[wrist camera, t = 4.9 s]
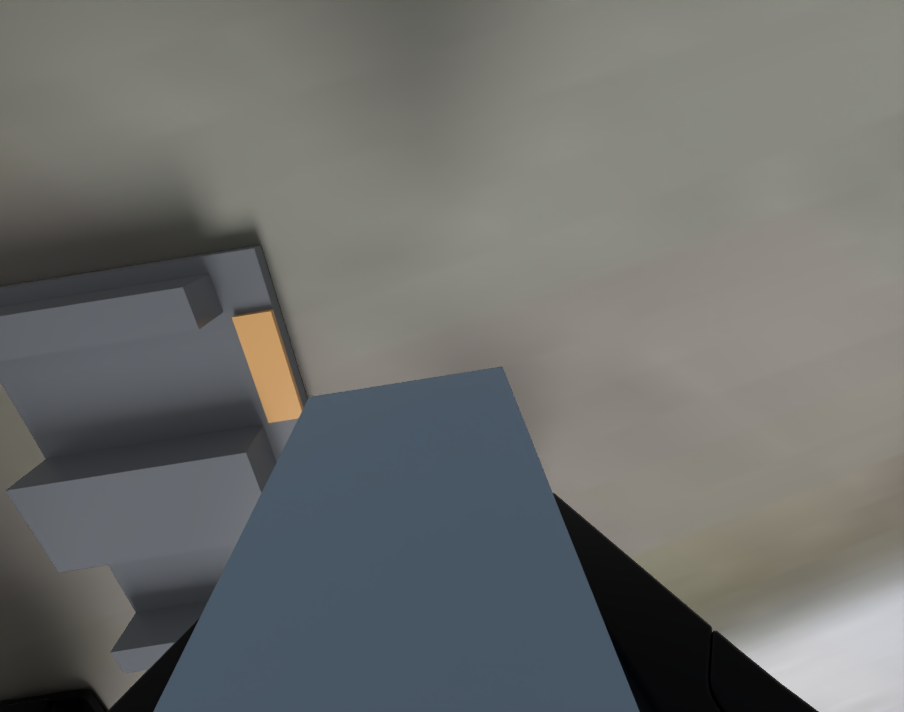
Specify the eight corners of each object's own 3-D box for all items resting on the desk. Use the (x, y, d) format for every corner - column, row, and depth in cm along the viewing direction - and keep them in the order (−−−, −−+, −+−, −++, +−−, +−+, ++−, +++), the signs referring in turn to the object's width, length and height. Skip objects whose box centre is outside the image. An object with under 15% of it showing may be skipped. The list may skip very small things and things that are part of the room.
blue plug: (519, 518, 11) (721, 1253, 4) (353, 544, 11) (208, 1331, 4) (501, 366, 9) (796, 1101, 2) (309, 397, 9) (-111, 1246, 2)
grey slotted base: (367, 595, 26) (360, 645, 24) (160, 628, 26) (129, 682, 24) (260, 244, 19) (232, 258, 16) (-31, 291, 19) (-110, 312, 16)
